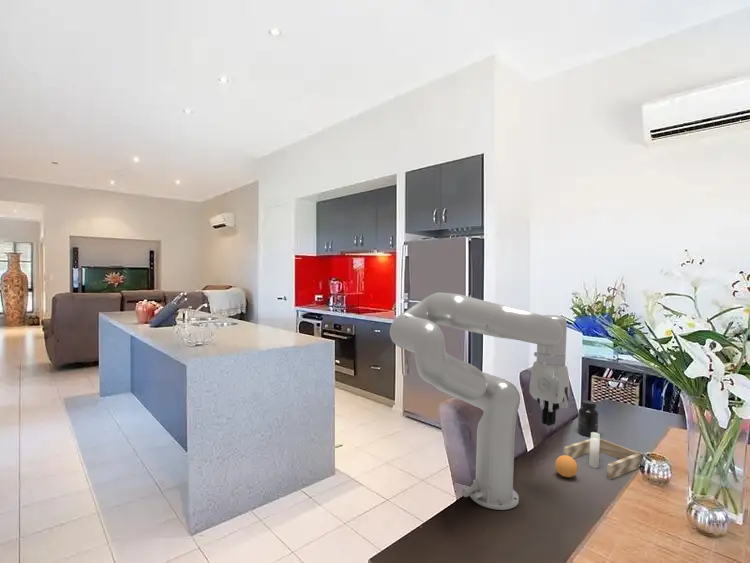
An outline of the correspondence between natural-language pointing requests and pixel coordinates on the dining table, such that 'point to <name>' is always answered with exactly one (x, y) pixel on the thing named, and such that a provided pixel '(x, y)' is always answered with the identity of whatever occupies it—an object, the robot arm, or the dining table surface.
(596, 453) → the front pin
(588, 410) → the supplement bottle
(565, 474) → the ball
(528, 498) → the dining table surface
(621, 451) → the u-shaped wooden frame
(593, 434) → the back pin
